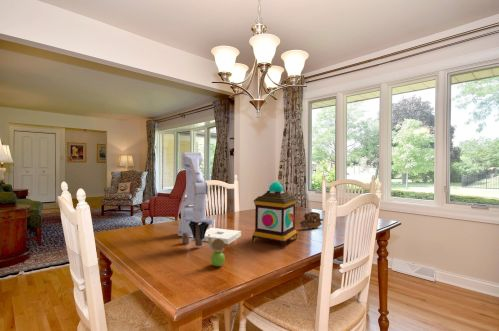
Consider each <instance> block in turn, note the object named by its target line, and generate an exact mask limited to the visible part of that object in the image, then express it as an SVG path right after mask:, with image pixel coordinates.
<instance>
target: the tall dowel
mask: <svg viewBox="0 0 499 331" xmlns="http://www.w3.org/2000/svg"><path fill="white" fill-rule="evenodd" d="M194 244H195V246H196V247H200V246H201V247H202V246H203V241H202V240H200V228H199V225H196V237H195V243H194Z"/></svg>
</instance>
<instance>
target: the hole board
mask: <svg viewBox="0 0 499 331" xmlns="http://www.w3.org/2000/svg"><path fill="white" fill-rule="evenodd" d="M208 234H210V236H208ZM241 236H242V230H235V229H228V228H227V229H226V228H217V227H210V228H207V230H206V233H205V236H204V239H202V242H208V243H209V241H208V238H209V237H211V238H212V243H213V241H214V240H215V239H218V238H219V239H222V240H223V241H224V243H225V245H230V244H231V243H232V242H234V241H235V240H237V239H239V238H240V237H241Z"/></svg>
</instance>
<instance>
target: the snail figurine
mask: <svg viewBox="0 0 499 331" xmlns="http://www.w3.org/2000/svg"><path fill="white" fill-rule="evenodd" d="M208 236H210V234H208ZM208 241H209V242H208V245H209V248H210V250H211V251H212V254H211V255H210V263H211V265H213V266H214V267H221V266H222V265H224V263H225V260H226V257H225V254H224V253H223V252H224V251H225V248H224V247H225V245H226V244H225V243H224V241H223V240H222V239H219V238H218V239H215V240H214V241H213V242H212V238H211V237H209V238H208Z"/></svg>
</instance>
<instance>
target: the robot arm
mask: <svg viewBox="0 0 499 331" xmlns="http://www.w3.org/2000/svg"><path fill="white" fill-rule="evenodd" d="M202 161H203V154H202V153H201V152H189V151H188V152H184V151H183V152H182V153H181V166H182V167H181V168H182V169H185V176H186V177H185V178H186V180H185V181H186V185H185V186H186V190H185V191H186V194H185V195H186V199H185V201H183V202H181V204H180V216H181V218H180V219H179V221H178V234H177V236H178V237H179V236H180V237H183V233H185V232H188V233H189V238H190V239H191V238H193V239H195V237H196V225H199V228H200V240H202V239H204V236H205V233H206V230H207V229H209V228H208V227H209V226H210V225H212V226H213V225H215V219H213V218H207V217H206V210H207V209H206V207H207V205H206V204H207V200H206V198H207V195H208V189H209V188H208V183H207V181H206V180H205V178H204V175H203V174H204V173H203V172H202V171H201V170H200V167H201V164H202Z"/></svg>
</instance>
